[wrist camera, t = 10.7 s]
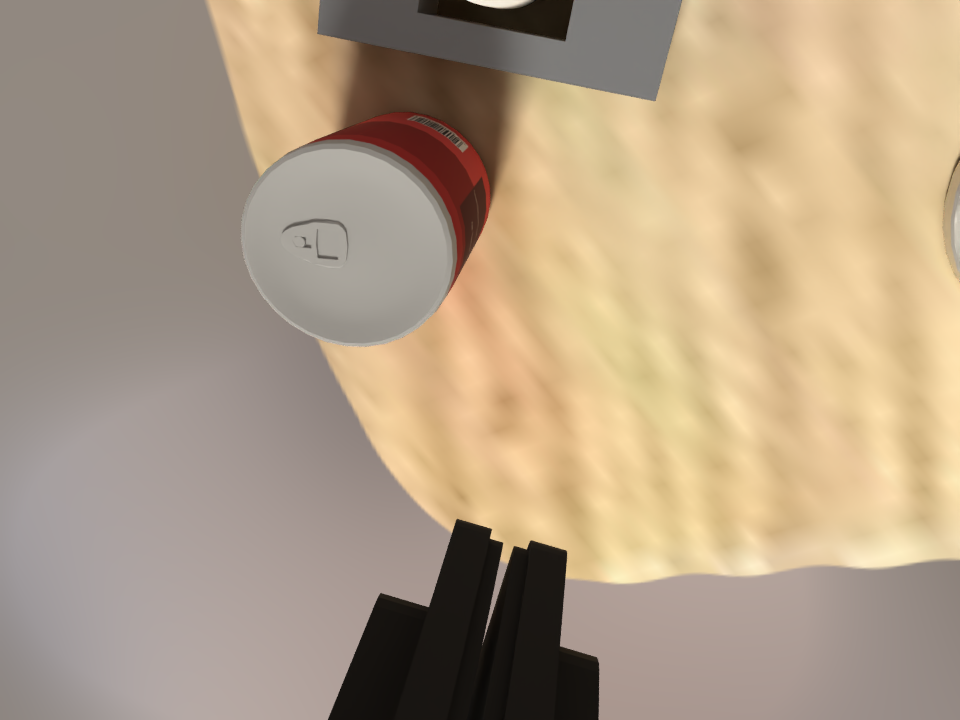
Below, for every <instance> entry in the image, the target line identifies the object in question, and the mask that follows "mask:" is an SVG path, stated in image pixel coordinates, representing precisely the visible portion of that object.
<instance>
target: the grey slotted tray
mask: <svg viewBox="0 0 960 720" xmlns="http://www.w3.org/2000/svg"><path fill="white" fill-rule="evenodd" d="M438 1H439V0H320V7H319V20H318V33H317V34H321V35H326V36H331V37H336V38H341V39H346V40H351V41H356V42H361V43H366V44H371V45H376V46H381V47H386V48H391V49H396V50H401V51H406V52H411V53H416V54H421V55H426V56H431V57H436V58H441V59H446V60H451V61H456V62H461V63H466V64H471V65H476V66H481V67H486V68H491V69H496V70H501V71H506V72H511V73H516V74H521V75H526V76H531V77H536V78H541V79H546V80H551V81H556V82H561V83H566V84H571V85H576V86H581V87H586V88H591V89H596V90H601V91H606V92H611V93H616V94H621V95H626V96H631V97H636V98H641V99H646V100H651V101H656V97H657V93H658V89H659V86H660V82H661V78H662V74H663V70H664V67H665V63H666V59H667V55H668V51H669V48H670V44H671V40H672V36H673V32H674V29H675V25H676V21H677V17H678V14H679V10H680V6H681V2H682V0H574V2H573V7H572V12H571V17H570V22H569V26H568V31H567V36H566V40H564V39H559V38H554V37H549V36H544V35H539V34H534V33H529V32H524V31H519V30H513V29H508V28H503V27H498V26H493V25H488V24H483V23H478V22H473V21H468V20H463V19H457V18H452V17H447V16H442V15H437V9H438Z"/></svg>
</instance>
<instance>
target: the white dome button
mask: <svg viewBox="0 0 960 720" xmlns="http://www.w3.org/2000/svg"><path fill="white" fill-rule="evenodd" d="M468 1H470V2H472V3H475V4H479V5H483V6H488V7H493V8H498V9H515V8H520V7H523V6H526V5H528V4H530V3H532V2H534V1H536V0H468Z"/></svg>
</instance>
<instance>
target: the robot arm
mask: <svg viewBox="0 0 960 720" xmlns="http://www.w3.org/2000/svg"><path fill="white" fill-rule="evenodd" d="M943 235H944V242H945V250H946V254H947V257H948V259H949V262H950V265H951V267H952V270H953V272H954V275H955V276H956V278H957V279H958V281H959V282H960V161H959V163H958V165H957V167H956V169H955V171H954V173H953V175H952V179H951V182H950V186H949V189H948V192H947V196H946V199H945V205H944V217H943ZM491 531H492V529H490V528H487V527H483V526H480V525H476V524H473V523H469V522H466V521H463V520H459V519H457V520H456V523H455V526H454V529H453V532H452V535H451V539H450V542H449V545H448V549H447V551H446V555H445V558H444V561H443V564H442V568H441V571H440V574H439V577H438V580H437V584H436V587H435V590H434V593H433V597H432V599H431V603H430V606H429V607H426V606H422V605H419V604H416V603H412V602H409V601H406V600H402V599H399V598H395V597H392V596H389V595H385V594H382V593H380V595H379V597H378V599H377V601H376V603H375V605H374V608H373V611H372V613H371V615H370V618H369V620H368V623H367V626H366V628H365V630H364V633H363V635H362V637H361V640H360V642H359V645H358V647H357V650H356V652H355V654H354V657H353V659H352V662H351V664H350V667H349V669H348V672H347V674H346V677H345V679H344V681H343V684H342V686H341V689H340V691H339V694H338V697H337V699H336V701H335V704H334V706H333V709H332V711H331V713H330V716H329V718H328V720H598V714H599V662H598V659H597V657H594V656H591V655H587V654H583V653H580V652H577V651H574V650H570V649H567V648H564V647H560V636H561V625H562V612H563V599H564V588H565V575H566V563H567V551H566V550H562V549H559V548H555V547H552V546H549V545H545V544H542V543H538V542H535V541H530V543H529V545H528V548H527V550H526V549H523V548H519V547H516V546H514V548H513V551H512V554H511V557H510V560H509V563H508V566H507V569H506V572H505V576H504V579H503V582H502V585H501V589H500V592H499V595H498V598H497V601H496V604H495V607H494V610H493V614H492V617H491V620H490V623H489V626H488V630H487V632H486V636H485V639H484V634H485V629H486V624H487V619H488V615H489V610H490V605H491V600H492V595H493V590H494V586H495V581H496V576H497V570H498V566H499V562H500V557H501V552H502V547H503V543H502V542H499V541H495V540H492V539H490V535H491ZM483 639H484V642H483ZM482 644H483V645H482Z"/></svg>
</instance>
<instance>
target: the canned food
mask: <svg viewBox="0 0 960 720" xmlns="http://www.w3.org/2000/svg"><path fill="white" fill-rule="evenodd" d="M489 207H490V186H489V181H488V177H487V173H486V170H485V168H484V165H483V163H482V161H481V159H480V157H479V155H478V154H477V152H476V151H475V149H474V148H473V147H472V145H471V144H470V142H469V141H467V140H466V139H465V138H464V137H463V136H462V135H461V134H460V133H459V132H458V131H457V130H455V129H454V128H452V127H451V126H449V125H448V124H446V123H444V122H443V121H440V120H438V119H435V118H433V117H430V116H428V115H423V114H418V113H413V112H394V113H389V114H385V115H380V116H377V117H374V118H372V119H369V120H366V121H364V122H361V123H358V124H356V125H353V126H351V127H348V128H345V129H343V130H340V131H338V132H335V133H332V134H330V135H327V136H324V137H322V138H319V139H317V140H315V141H312V142H310V143H308V144H306V145H304V146H301V147H299V148H297V149H295V150H293V151H291V152H288V153H287V154H286V155H284V156H283V157H282V158H281V159H279V160H278V161H277V162H275V163H274V164H273V165H272V166H270V167H269V168H268V169H267V170H266V171H265V172H264V174H263V175H262V176H261V177H260V178H259V180H258V181H257V182H256V183H255V185H254V187H253V189H252V191H251V193H250V195H249V197H248V199H247V201H246V205H245V208H244V212H243V216H242V224H241V225H242V226H241V243H242V249H243V254H244V260H245V262H246V265H247V268H248V271H249V273H250V276H251V278H252V280H253V282H254V283H255V285H256V287H257V288H258V290H259V292H260V294H261V295H262V297H263V298H264V299H265V300H266V301H267V302H268V304H269V305H270V306H271V307H272V308H273V310H274V311H275V312H277V313H278V314H279V315H280V316H281V317H282V318H284V319H285V320H286V321H287V322H288V323H290V324H291V325H293V326H294V327H296V328H298V329H299V330H301V331H303V332H304V333H306V334H308V335H310V336H313V337H315V338H318V339H320V340H323V341H325V342H329V343H334V344H339V345H343V346H359V347H367V346H374V345H380V344H386V343H389V342H391V341H394V340H397V339H400V338H403V337H404V336H406V335H407V334H409V333H411V332H412V331H414V330H416V329H417V328H419V327H420V326H421V325H422V324H423V323H424V322H425V321H426V320H427V319H428V318H429V317H431V316H432V315H433V314H434V313H435V312H436V311H437V309H438V308H439V306H440V305H441V303H442V302H443V300H444V299H445V298H446V296H447V294H448V293H449V291H450V290H451V288H452V287H453V285H454V283H455V281H456V279H457V277H458V275H459V274H460V272H461V270H462V268H463V266H464V264H465V262H466V261H467V259H468V257H469V255H470V253H471V251H472V249H473V247H474V246H475V244H476V242H477V240H478V238H479V236H480V234H481V233H482V230H483V228H484V225H485V223H486V220H487V218H488V212H489Z"/></svg>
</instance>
